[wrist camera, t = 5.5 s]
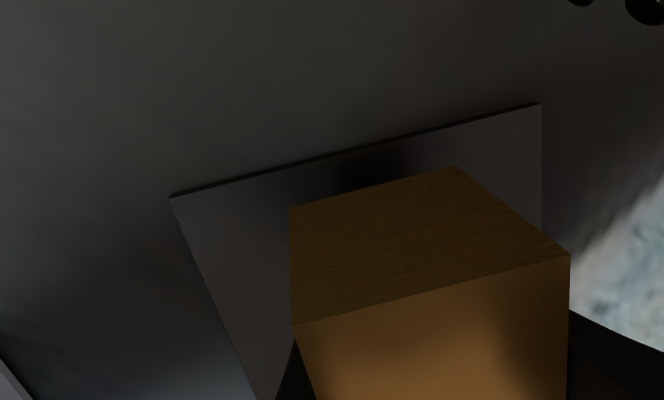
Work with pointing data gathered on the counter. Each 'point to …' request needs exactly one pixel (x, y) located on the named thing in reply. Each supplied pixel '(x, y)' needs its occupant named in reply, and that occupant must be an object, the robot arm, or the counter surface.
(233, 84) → the counter surface
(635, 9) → the valve
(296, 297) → the wooden drawer block
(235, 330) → the grey piece
